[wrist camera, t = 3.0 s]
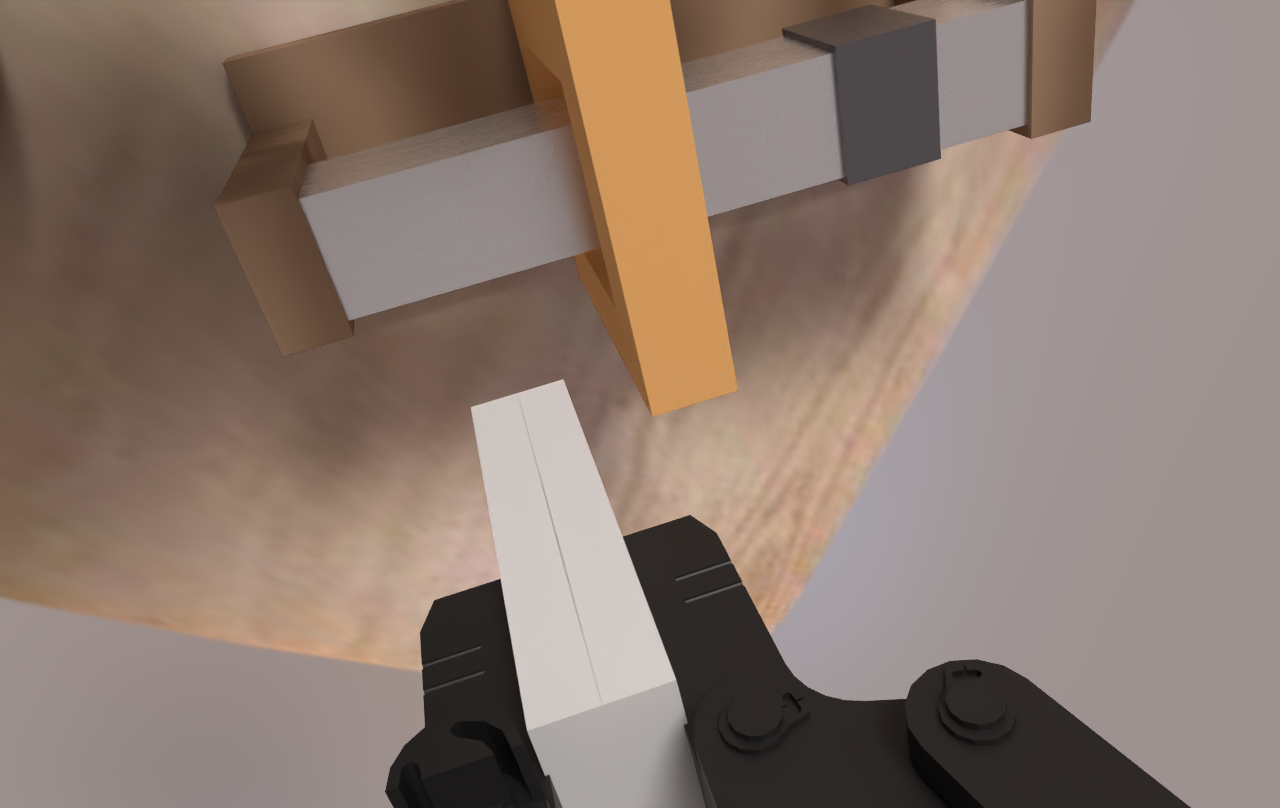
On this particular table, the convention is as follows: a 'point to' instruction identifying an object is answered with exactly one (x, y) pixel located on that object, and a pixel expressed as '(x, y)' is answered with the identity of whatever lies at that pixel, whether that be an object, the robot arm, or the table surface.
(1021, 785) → the robot arm
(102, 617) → the table surface
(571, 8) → the orange square ring
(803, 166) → the rail
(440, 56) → the brown stand
